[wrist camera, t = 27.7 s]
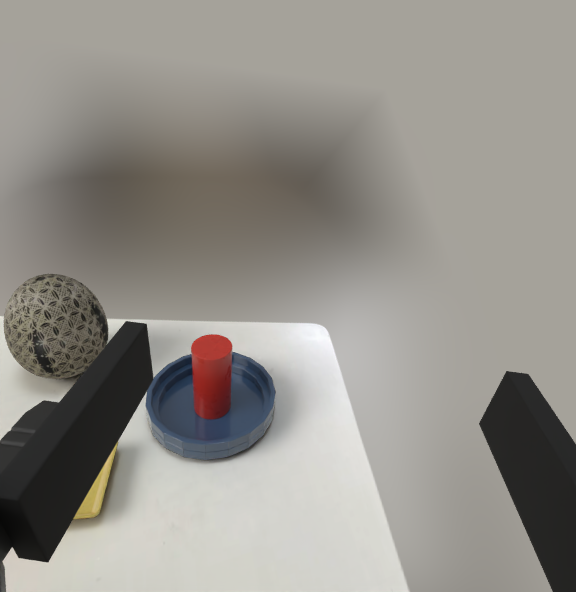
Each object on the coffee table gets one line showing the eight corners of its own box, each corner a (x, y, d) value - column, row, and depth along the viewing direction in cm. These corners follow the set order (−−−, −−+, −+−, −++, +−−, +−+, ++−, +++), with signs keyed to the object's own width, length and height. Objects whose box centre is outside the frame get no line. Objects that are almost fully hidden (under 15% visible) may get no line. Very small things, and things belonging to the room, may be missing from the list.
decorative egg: (103, 396, 50) (82, 302, 42) (5, 401, 48) (-35, 303, 40) (121, 342, 60) (107, 257, 52) (40, 344, 58) (13, 256, 50)
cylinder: (234, 394, 52) (235, 336, 47) (226, 422, 47) (227, 362, 42) (200, 389, 52) (198, 332, 47) (189, 417, 48) (185, 356, 42)
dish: (278, 375, 57) (280, 358, 55) (264, 472, 43) (266, 453, 41) (174, 362, 57) (172, 344, 55) (126, 453, 43) (122, 433, 41)
